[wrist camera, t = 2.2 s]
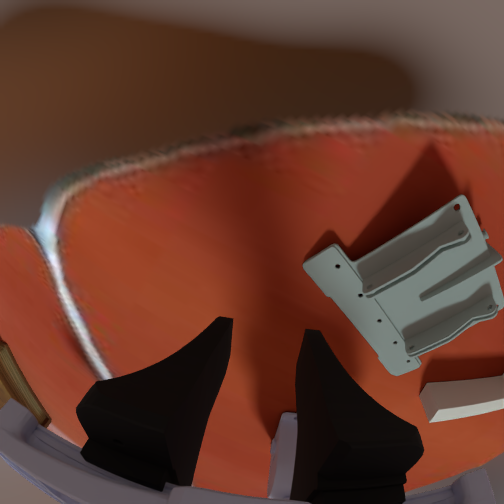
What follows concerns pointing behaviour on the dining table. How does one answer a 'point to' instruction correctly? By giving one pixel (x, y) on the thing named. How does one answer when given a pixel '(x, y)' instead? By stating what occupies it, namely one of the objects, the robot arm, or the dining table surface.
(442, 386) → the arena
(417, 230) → the metal bracket
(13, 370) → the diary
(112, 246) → the dining table surface
